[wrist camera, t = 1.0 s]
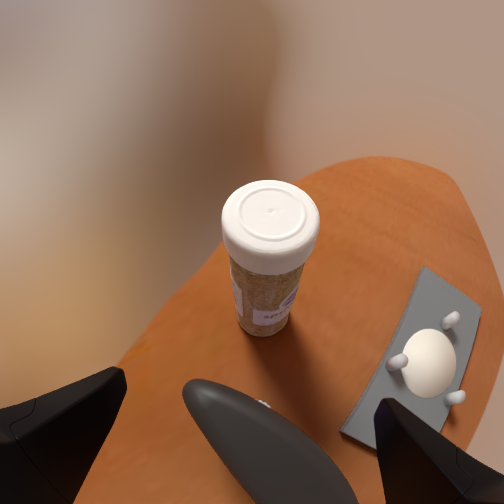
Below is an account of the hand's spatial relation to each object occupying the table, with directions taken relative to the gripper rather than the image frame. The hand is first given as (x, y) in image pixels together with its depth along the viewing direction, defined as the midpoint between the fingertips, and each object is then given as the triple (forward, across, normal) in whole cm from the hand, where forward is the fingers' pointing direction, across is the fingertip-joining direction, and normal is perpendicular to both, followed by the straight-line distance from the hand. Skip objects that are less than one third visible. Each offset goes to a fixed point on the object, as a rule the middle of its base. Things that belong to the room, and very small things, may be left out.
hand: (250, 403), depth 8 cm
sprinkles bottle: (+15, 0, +4) cm, 16 cm away
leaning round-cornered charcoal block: (+6, -2, +14) cm, 15 cm away
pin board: (+12, -16, +7) cm, 21 cm away
